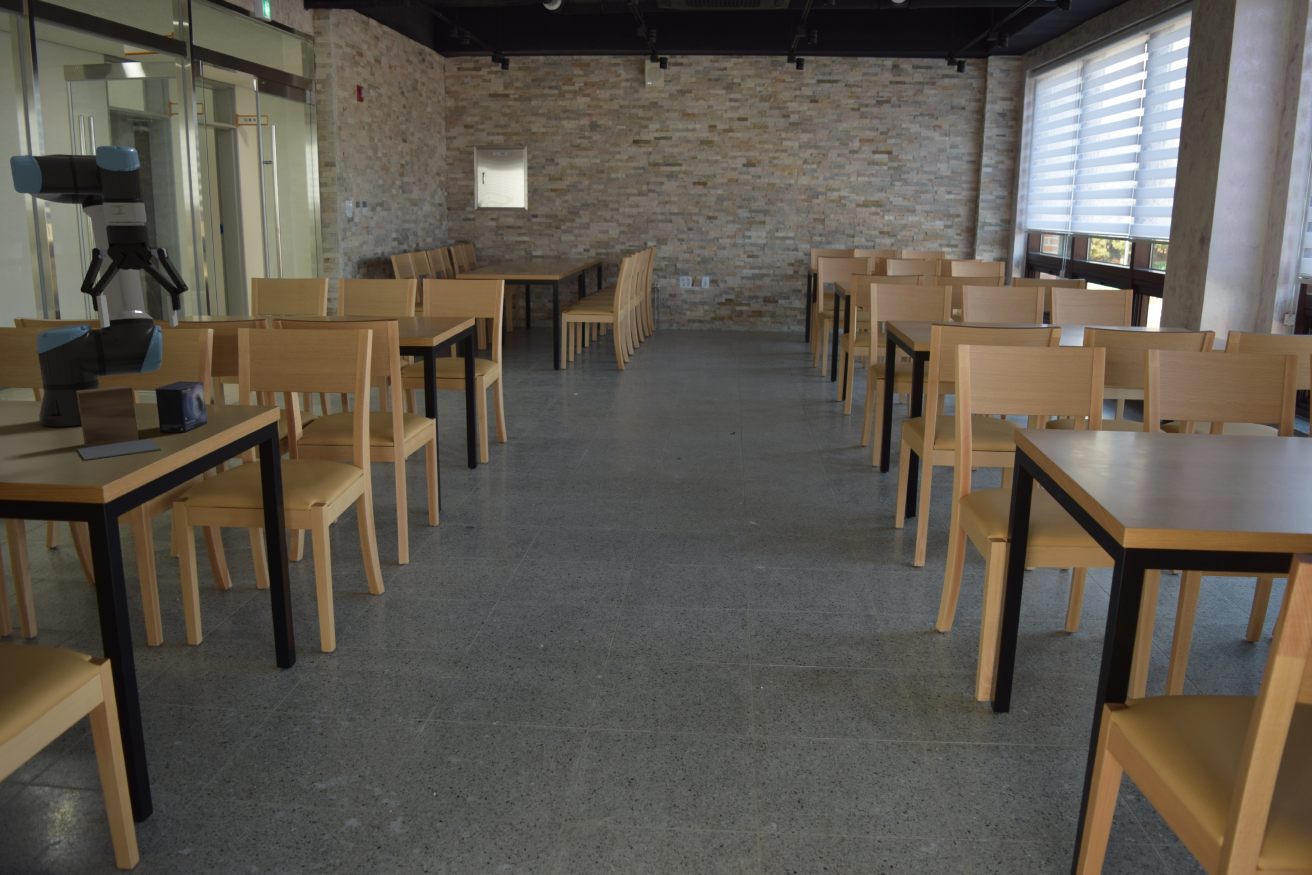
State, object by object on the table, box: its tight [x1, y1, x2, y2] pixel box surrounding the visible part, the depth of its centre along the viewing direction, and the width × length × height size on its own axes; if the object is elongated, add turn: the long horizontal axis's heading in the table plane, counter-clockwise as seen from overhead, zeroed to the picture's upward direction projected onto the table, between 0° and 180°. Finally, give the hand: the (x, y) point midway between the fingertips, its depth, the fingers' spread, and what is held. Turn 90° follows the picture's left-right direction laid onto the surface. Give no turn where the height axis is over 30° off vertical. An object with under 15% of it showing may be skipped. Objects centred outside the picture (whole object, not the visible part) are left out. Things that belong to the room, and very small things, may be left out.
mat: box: [76, 438, 161, 462], centre depth 195 cm, size 12×14×1 cm
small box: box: [154, 380, 208, 433], centre depth 215 cm, size 11×6×10 cm, turn 179°
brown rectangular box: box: [76, 385, 140, 447], centre depth 200 cm, size 4×10×12 cm, turn 128°
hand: (140, 326), depth 193 cm, fingers open, 13 cm apart
